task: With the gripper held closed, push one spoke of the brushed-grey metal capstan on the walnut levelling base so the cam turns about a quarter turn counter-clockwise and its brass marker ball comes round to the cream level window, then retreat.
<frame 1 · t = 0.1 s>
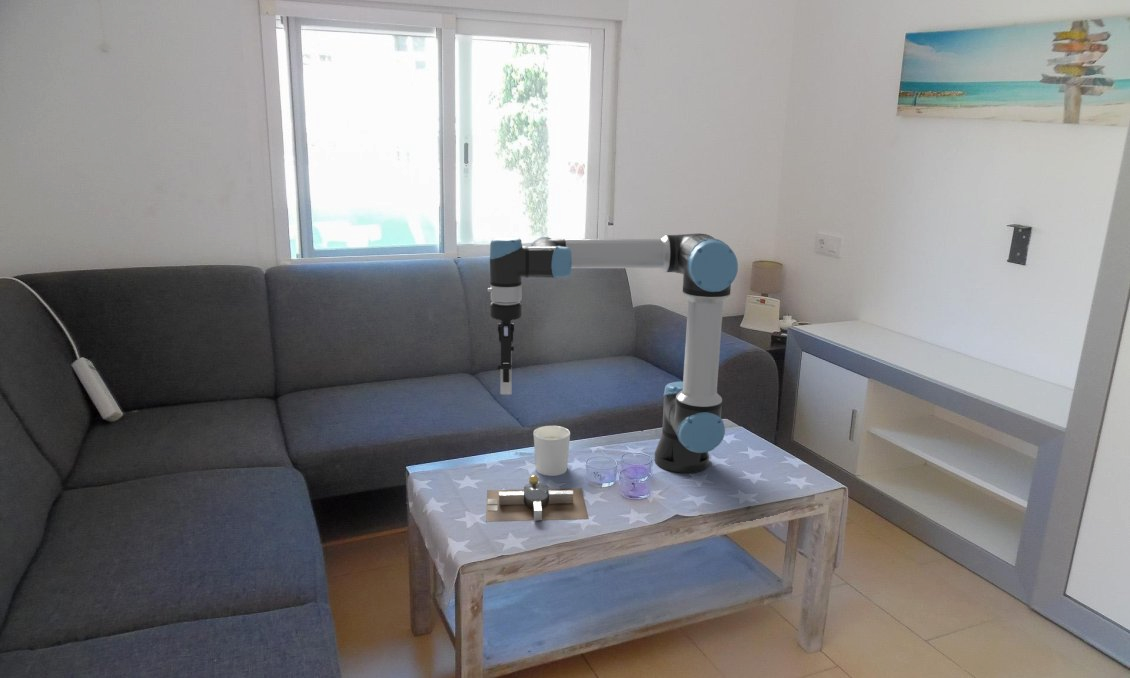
hand: (506, 385, 194), 28 cm above the table, fingers open, 13 cm apart
level base: (536, 509, 190), on the table
candle holder: (551, 474, 209), on the table
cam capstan: (536, 490, 188), point 5 cm above the table, hinge at 0.0°
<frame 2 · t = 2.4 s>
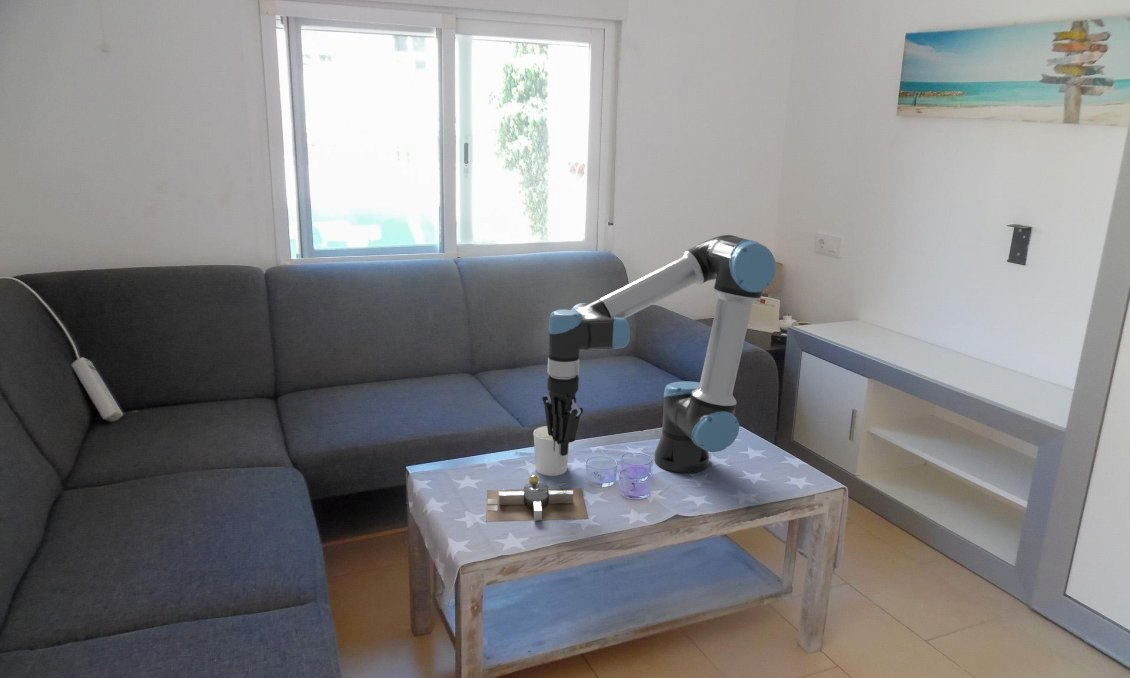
hand: (560, 465, 192), 9 cm above the table, fingers closed
nothing on the table moved.
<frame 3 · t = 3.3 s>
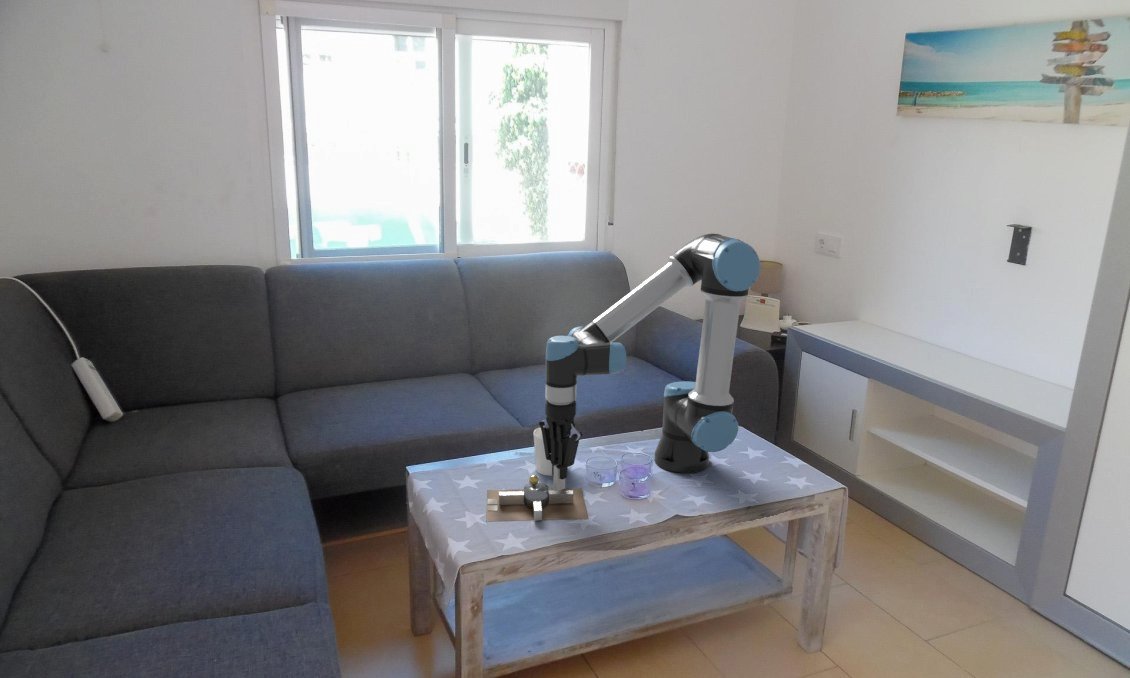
hand: (559, 488, 194), 3 cm above the table, fingers closed
nothing on the table moved.
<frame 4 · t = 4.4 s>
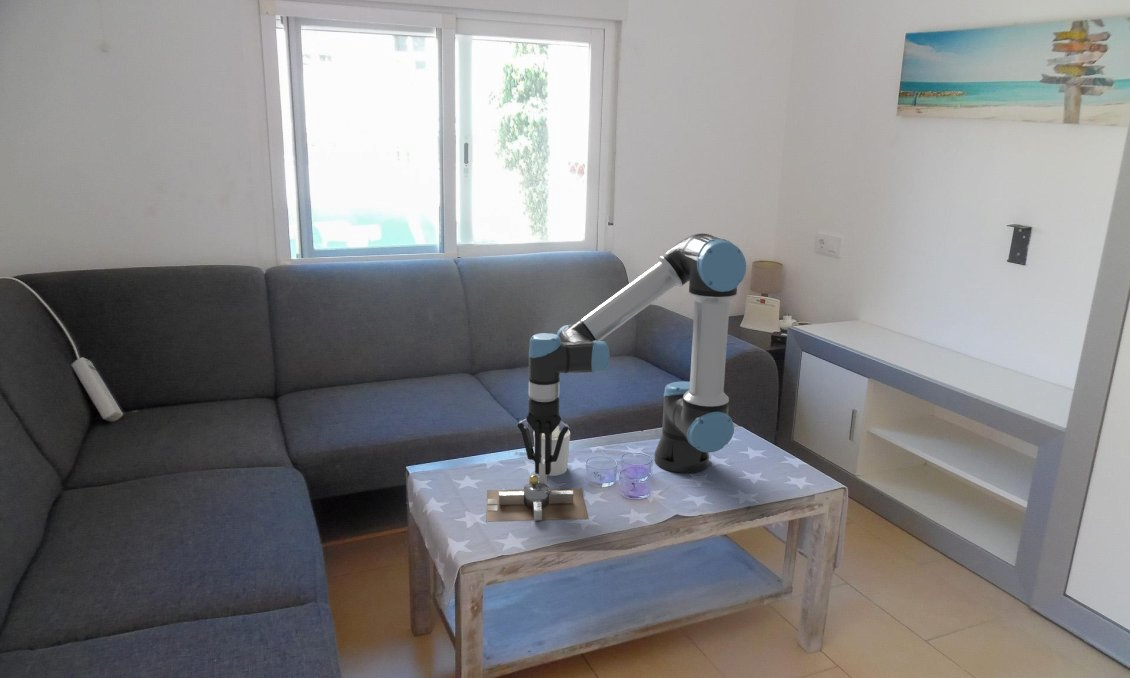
hand: (542, 485, 196), 3 cm above the table, fingers closed
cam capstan: (536, 490, 188), point 5 cm above the table, hinge at 0.0°, touching gripper
everything else where it was.
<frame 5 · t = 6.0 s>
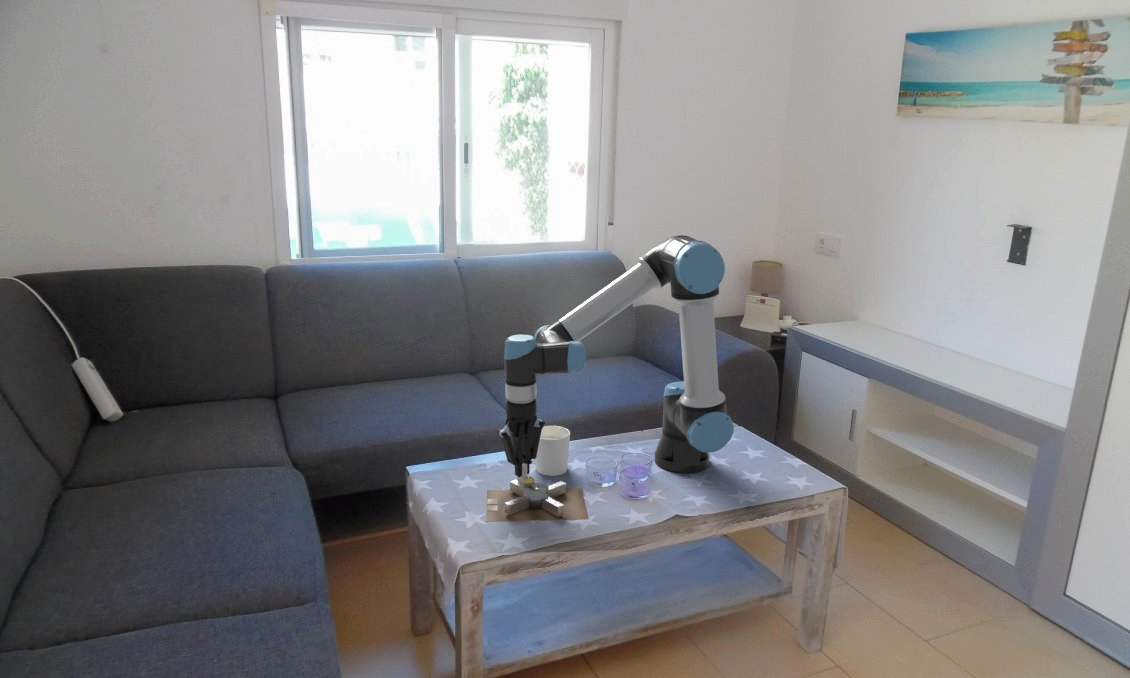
hand: (522, 486, 195), 3 cm above the table, fingers closed
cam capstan: (536, 490, 188), point 5 cm above the table, hinge at 37.9°, touching gripper
everything else where it was.
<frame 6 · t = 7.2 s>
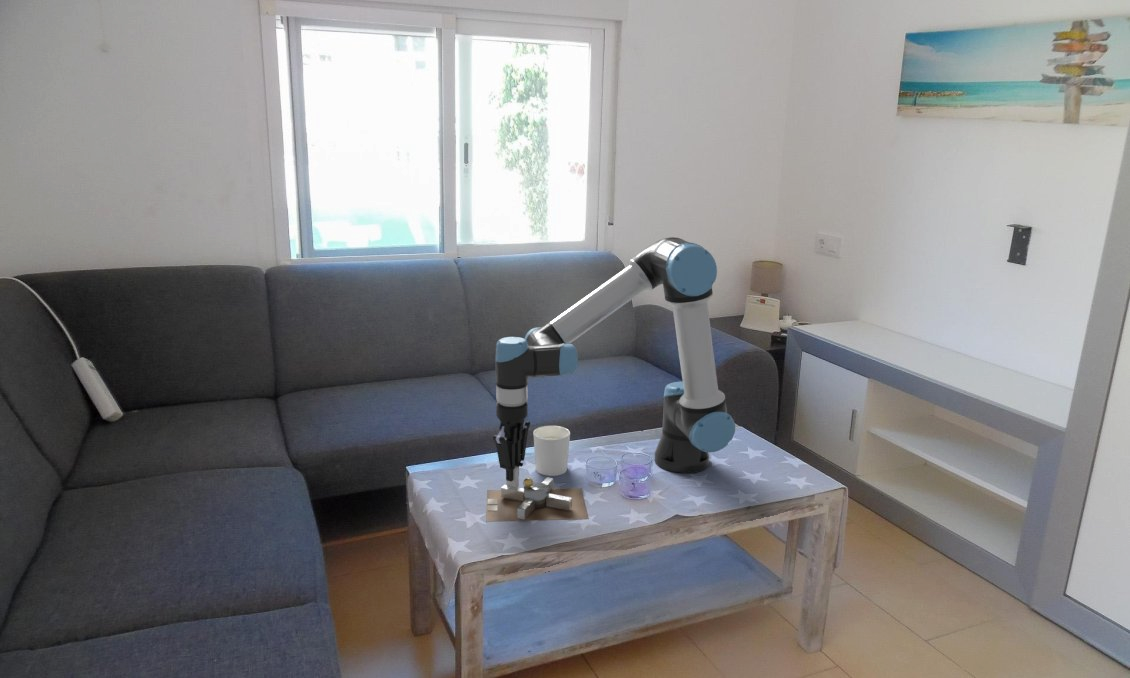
hand: (512, 490, 193), 3 cm above the table, fingers closed
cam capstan: (536, 490, 188), point 5 cm above the table, hinge at 64.2°, touching gripper
everything else where it was.
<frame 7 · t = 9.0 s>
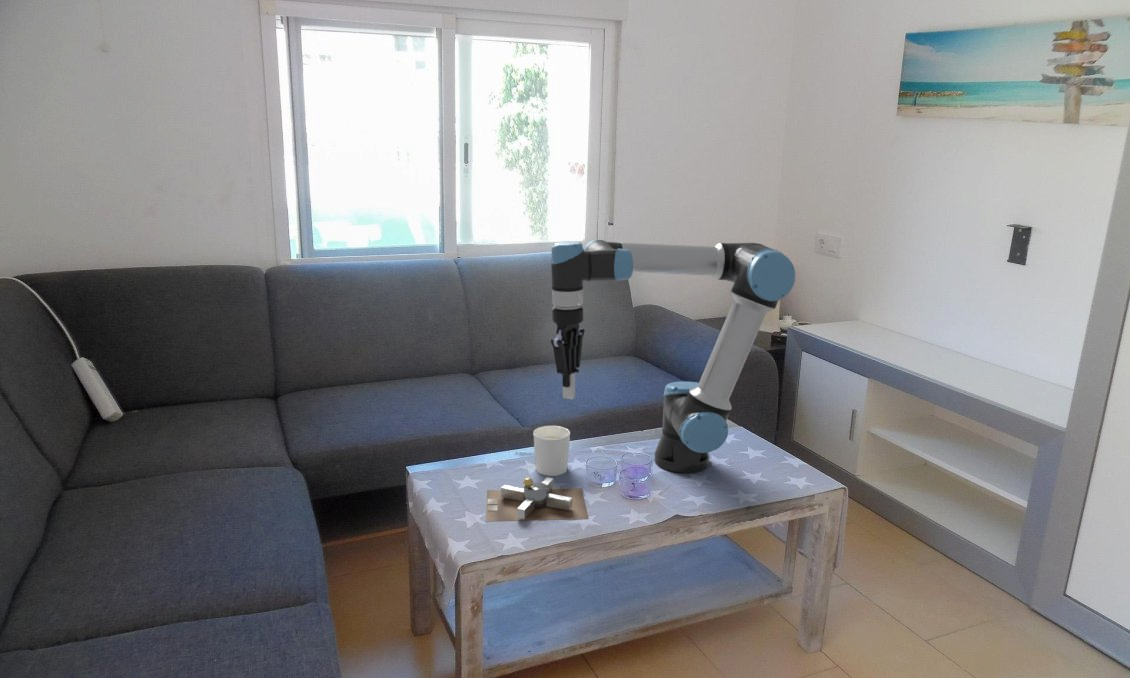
hand: (569, 397, 195), 25 cm above the table, fingers closed
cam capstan: (536, 490, 188), point 5 cm above the table, hinge at 64.3°
everything else where it was.
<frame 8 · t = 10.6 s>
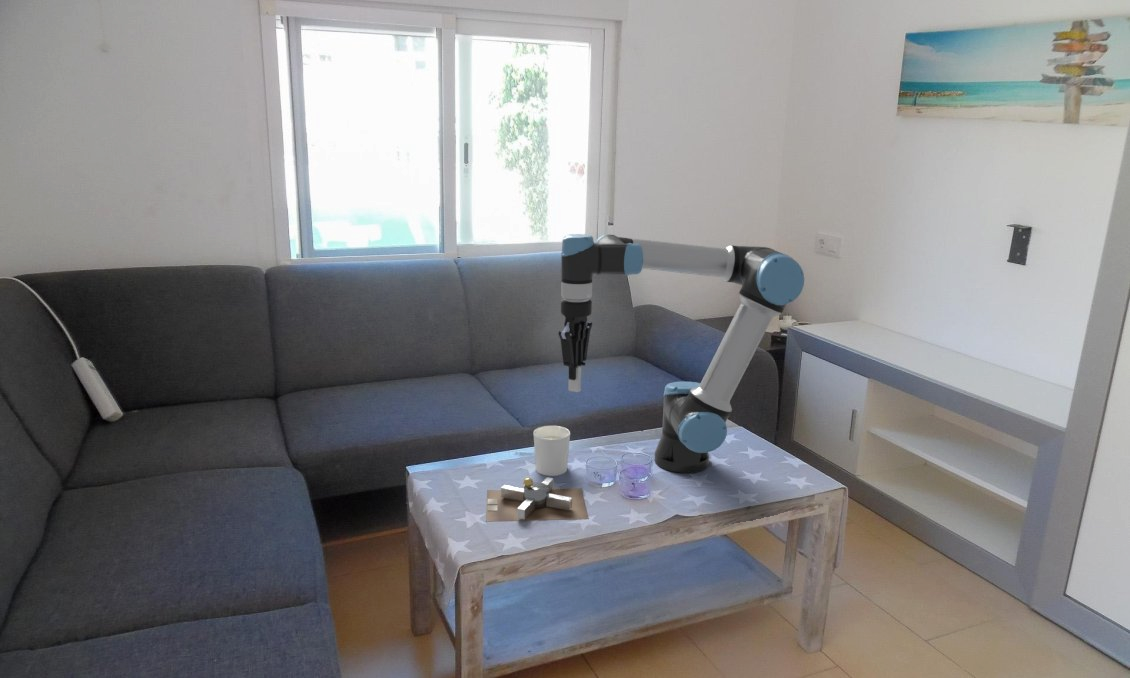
hand: (574, 390, 195), 26 cm above the table, fingers closed
nothing on the table moved.
at the end: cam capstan at +64° (first picture: +0°) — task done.
